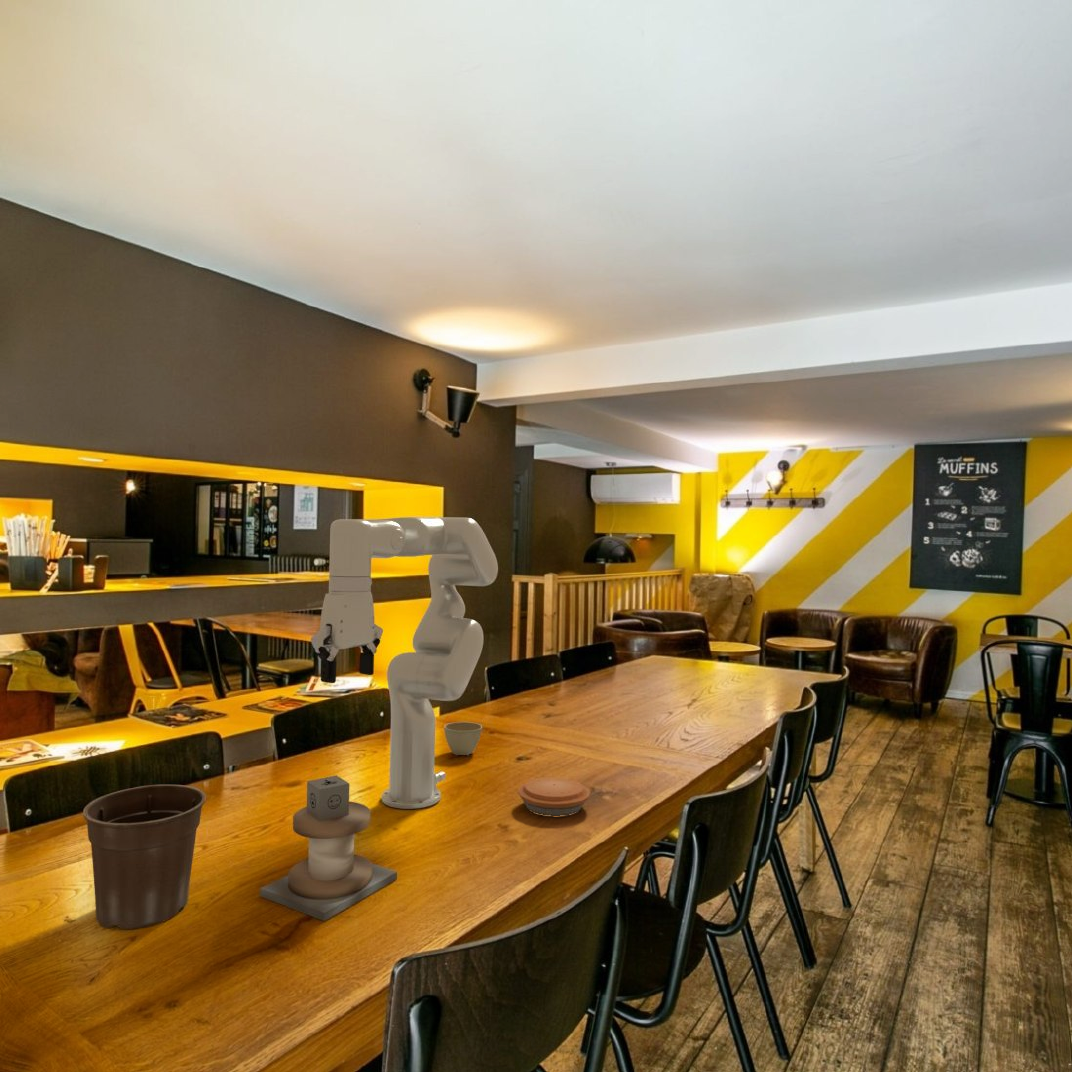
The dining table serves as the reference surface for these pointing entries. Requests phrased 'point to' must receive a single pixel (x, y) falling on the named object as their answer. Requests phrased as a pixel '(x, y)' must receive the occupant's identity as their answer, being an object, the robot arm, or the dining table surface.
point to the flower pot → (462, 737)
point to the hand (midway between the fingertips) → (347, 678)
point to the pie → (553, 795)
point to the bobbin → (329, 867)
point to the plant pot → (142, 852)
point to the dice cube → (327, 798)
